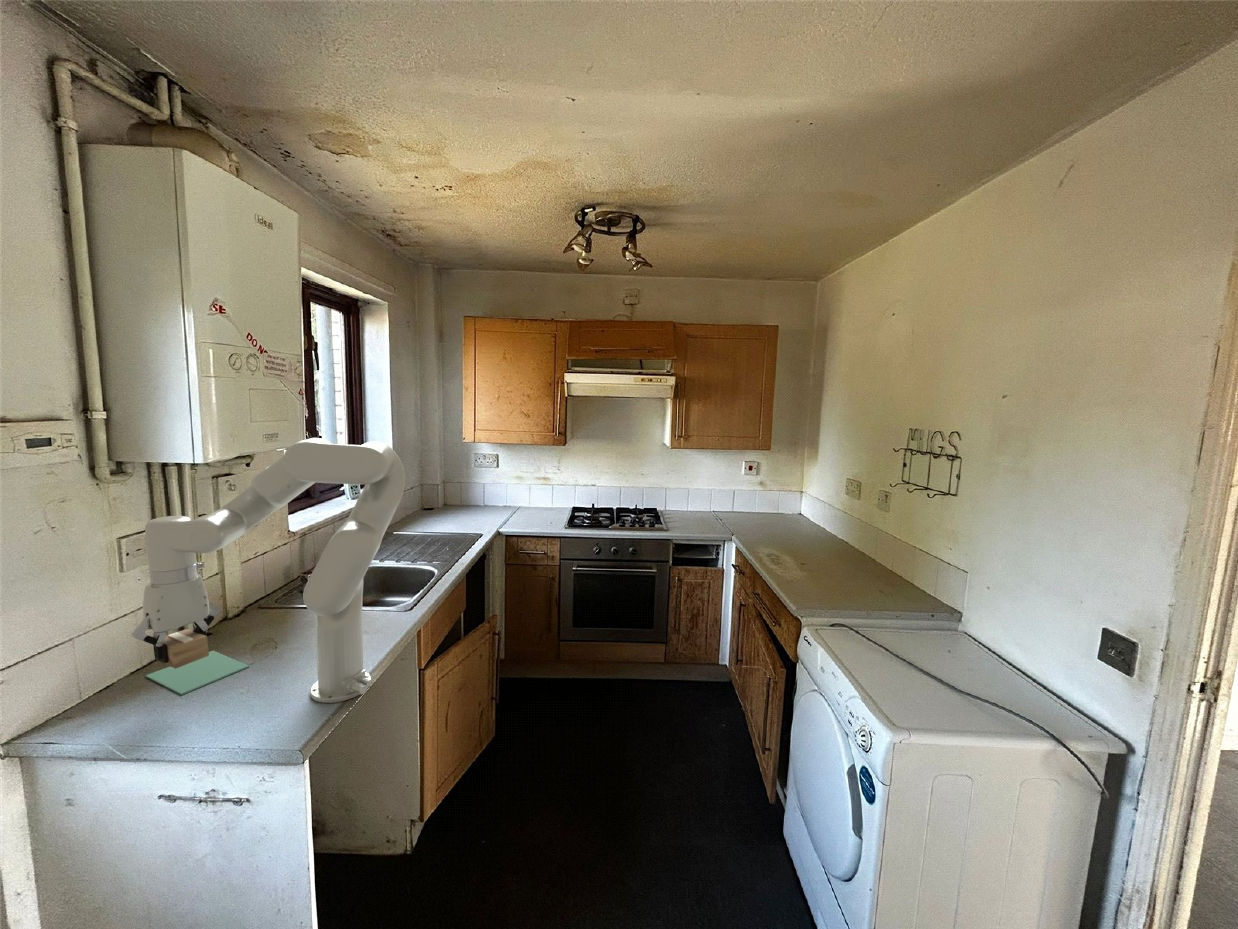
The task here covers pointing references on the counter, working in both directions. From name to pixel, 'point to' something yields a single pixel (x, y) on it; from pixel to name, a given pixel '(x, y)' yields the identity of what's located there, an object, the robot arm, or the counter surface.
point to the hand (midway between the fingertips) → (182, 653)
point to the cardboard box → (185, 647)
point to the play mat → (197, 673)
